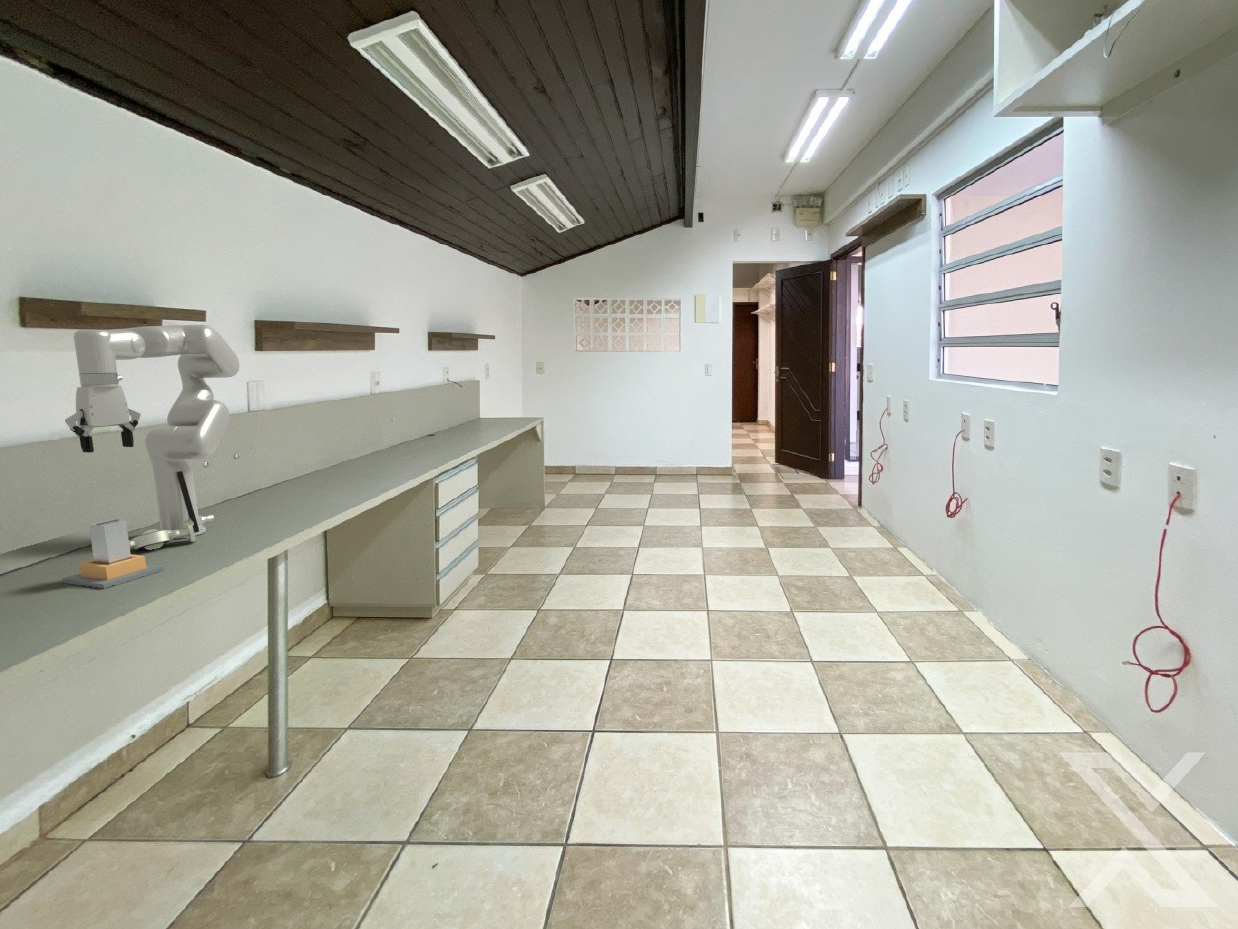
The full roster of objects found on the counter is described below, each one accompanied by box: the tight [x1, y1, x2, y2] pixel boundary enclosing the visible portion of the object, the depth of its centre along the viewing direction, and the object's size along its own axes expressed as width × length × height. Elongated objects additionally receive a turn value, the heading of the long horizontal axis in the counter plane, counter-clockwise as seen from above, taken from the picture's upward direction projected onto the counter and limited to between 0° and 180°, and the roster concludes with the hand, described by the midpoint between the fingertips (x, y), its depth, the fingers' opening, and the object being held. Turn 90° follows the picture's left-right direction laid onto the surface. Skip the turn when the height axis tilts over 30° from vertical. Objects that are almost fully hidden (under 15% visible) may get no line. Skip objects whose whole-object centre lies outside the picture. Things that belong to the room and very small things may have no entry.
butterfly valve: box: [129, 471, 200, 551], centre depth 184 cm, size 9×20×17 cm
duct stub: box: [88, 518, 131, 565], centre depth 159 cm, size 5×5×12 cm
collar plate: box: [61, 553, 165, 590], centre depth 160 cm, size 14×14×4 cm
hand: (108, 449), depth 170 cm, fingers open, 9 cm apart
